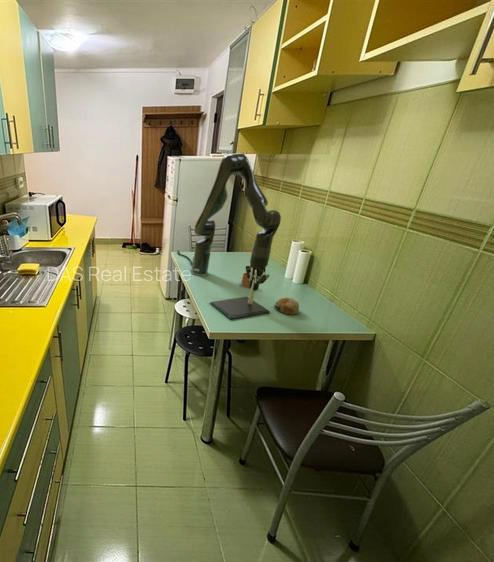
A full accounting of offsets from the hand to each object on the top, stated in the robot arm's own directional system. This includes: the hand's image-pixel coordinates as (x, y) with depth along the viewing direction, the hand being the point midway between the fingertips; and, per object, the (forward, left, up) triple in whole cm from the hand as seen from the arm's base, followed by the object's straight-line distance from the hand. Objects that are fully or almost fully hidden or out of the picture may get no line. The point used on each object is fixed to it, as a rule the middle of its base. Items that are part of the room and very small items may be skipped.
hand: (253, 289), depth 145 cm
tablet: (0, -6, -10) cm, 11 cm away
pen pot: (-21, +15, -10) cm, 28 cm away
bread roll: (+8, +15, -10) cm, 20 cm away
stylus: (0, 0, -8) cm, 8 cm away
